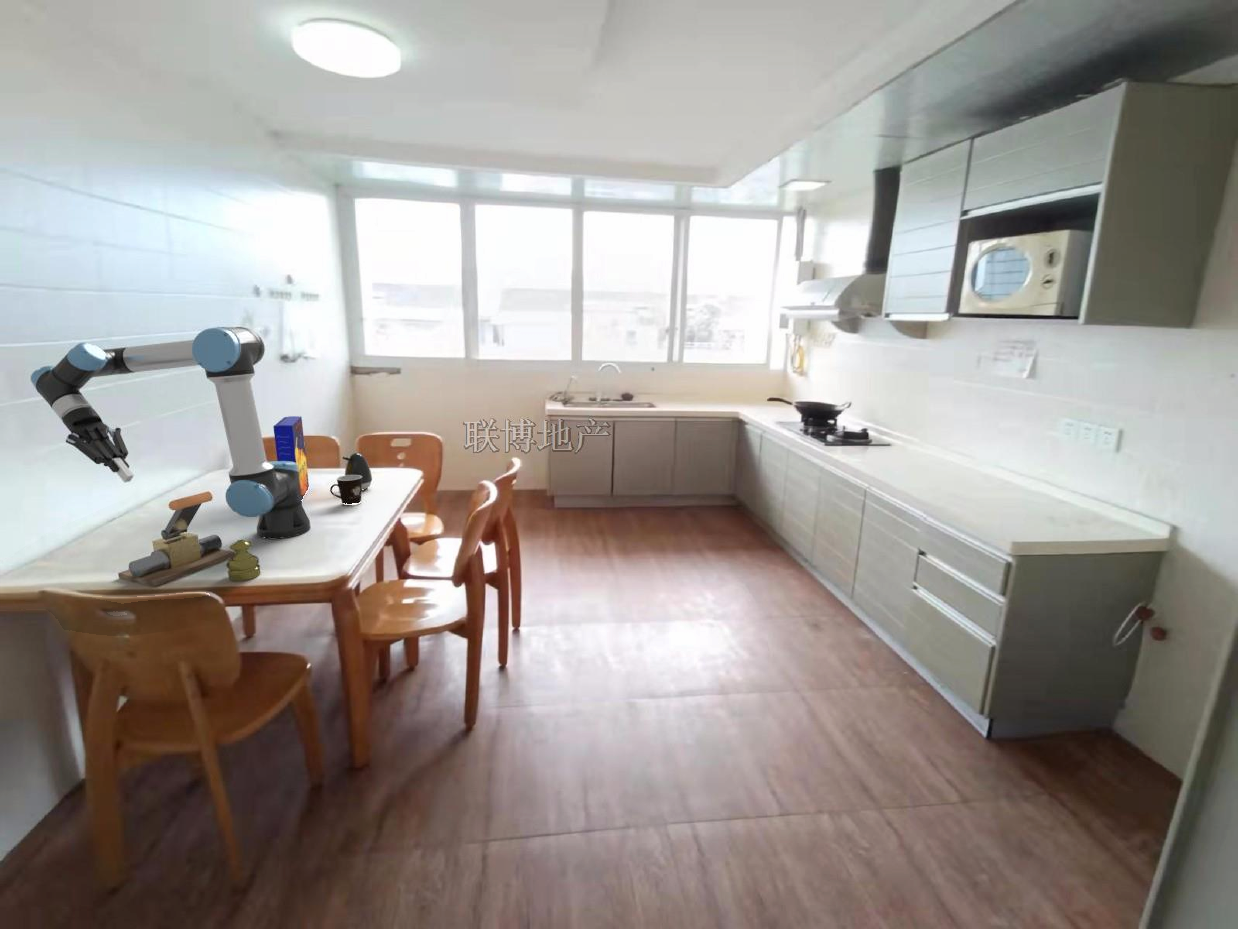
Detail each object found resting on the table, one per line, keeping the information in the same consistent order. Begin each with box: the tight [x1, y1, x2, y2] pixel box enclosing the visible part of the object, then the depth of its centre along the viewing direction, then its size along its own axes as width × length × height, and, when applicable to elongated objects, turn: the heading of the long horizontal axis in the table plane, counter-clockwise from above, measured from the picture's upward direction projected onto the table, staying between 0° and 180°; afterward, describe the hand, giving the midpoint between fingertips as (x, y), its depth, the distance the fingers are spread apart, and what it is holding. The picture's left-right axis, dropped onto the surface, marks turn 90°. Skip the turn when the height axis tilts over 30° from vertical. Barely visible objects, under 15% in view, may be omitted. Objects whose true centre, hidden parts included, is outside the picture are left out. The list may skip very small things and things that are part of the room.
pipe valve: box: [117, 532, 236, 588], centre depth 164 cm, size 14×22×8 cm, turn 160°
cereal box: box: [273, 415, 310, 500], centre depth 228 cm, size 22×6×30 cm, turn 19°
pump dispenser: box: [342, 452, 373, 490], centre depth 242 cm, size 10×10×15 cm
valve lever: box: [160, 491, 213, 540], centre depth 160 cm, size 3×10×16 cm
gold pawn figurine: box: [226, 539, 261, 582], centre depth 159 cm, size 7×7×10 cm
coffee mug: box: [329, 474, 362, 504], centre depth 223 cm, size 12×9×10 cm
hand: (129, 478), depth 165 cm, fingers closed
